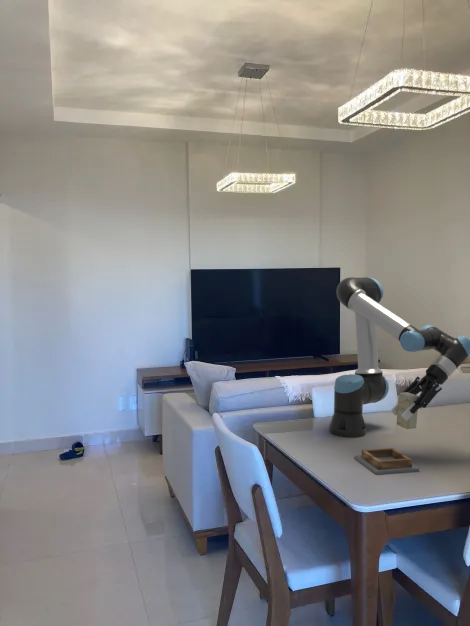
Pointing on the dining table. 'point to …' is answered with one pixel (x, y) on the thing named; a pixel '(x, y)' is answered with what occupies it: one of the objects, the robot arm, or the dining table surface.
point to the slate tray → (385, 471)
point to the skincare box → (403, 405)
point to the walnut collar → (398, 462)
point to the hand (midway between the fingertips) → (398, 415)
